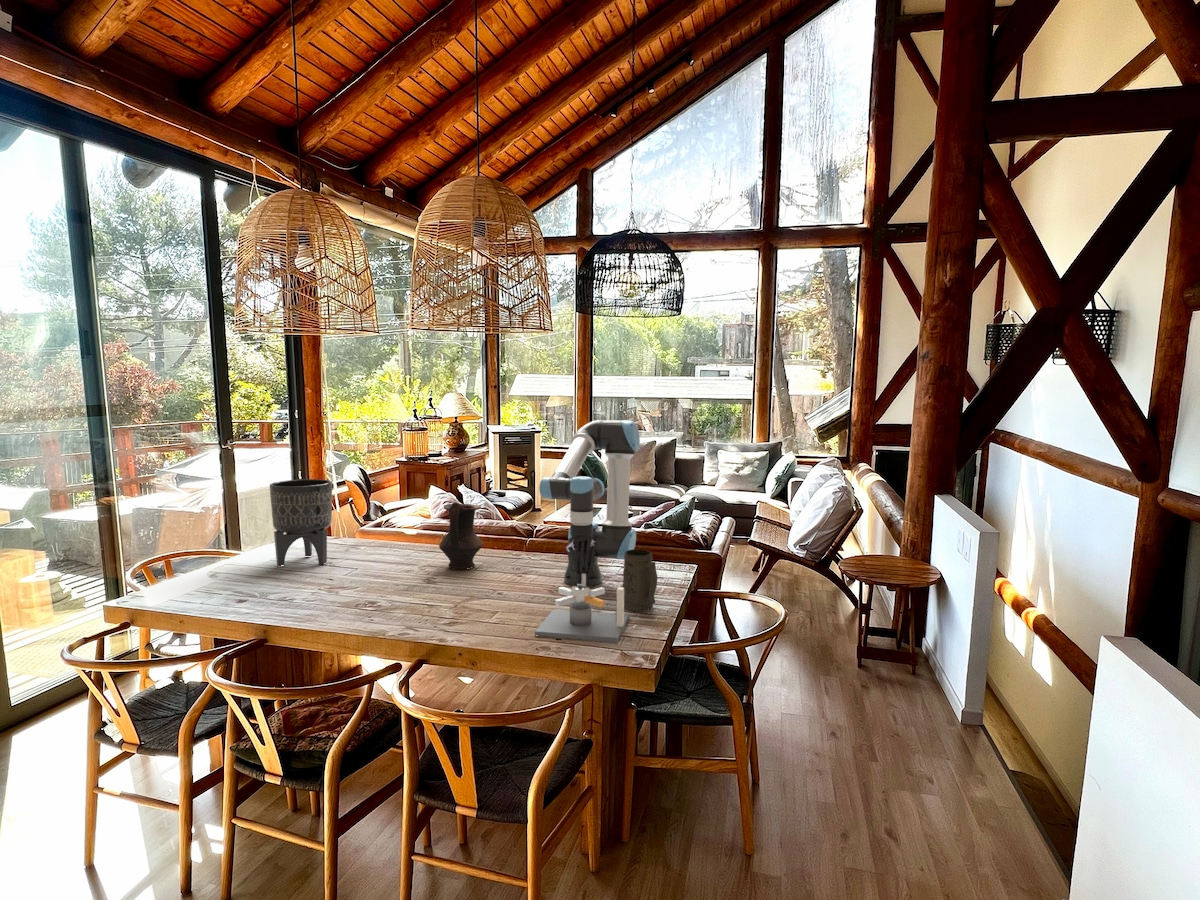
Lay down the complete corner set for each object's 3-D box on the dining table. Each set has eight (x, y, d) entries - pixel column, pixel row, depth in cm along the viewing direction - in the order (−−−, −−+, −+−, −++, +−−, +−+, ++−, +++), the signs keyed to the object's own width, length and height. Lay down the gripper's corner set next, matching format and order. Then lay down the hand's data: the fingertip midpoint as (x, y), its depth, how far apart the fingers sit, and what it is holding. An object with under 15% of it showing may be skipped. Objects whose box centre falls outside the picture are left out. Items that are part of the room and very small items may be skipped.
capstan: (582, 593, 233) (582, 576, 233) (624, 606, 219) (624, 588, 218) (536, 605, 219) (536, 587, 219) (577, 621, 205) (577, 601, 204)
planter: (283, 573, 282) (280, 488, 279) (264, 561, 301) (261, 482, 298) (343, 563, 299) (341, 483, 296) (322, 552, 318) (319, 477, 314)
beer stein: (614, 605, 241) (617, 551, 238) (635, 599, 248) (638, 546, 246) (647, 619, 230) (650, 562, 227) (667, 611, 238) (671, 556, 235)
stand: (553, 613, 233) (553, 574, 232) (628, 618, 228) (629, 579, 226) (534, 636, 211) (534, 593, 210) (617, 642, 206) (617, 599, 205)
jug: (445, 561, 302) (444, 494, 300) (487, 562, 302) (486, 495, 299) (432, 574, 281) (430, 502, 279) (476, 574, 281) (475, 503, 278)
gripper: (588, 519, 234) (588, 586, 236) (559, 524, 225) (559, 593, 227) (603, 522, 228) (603, 591, 230) (574, 527, 219) (574, 598, 221)
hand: (581, 592), depth 228 cm, fingers closed
